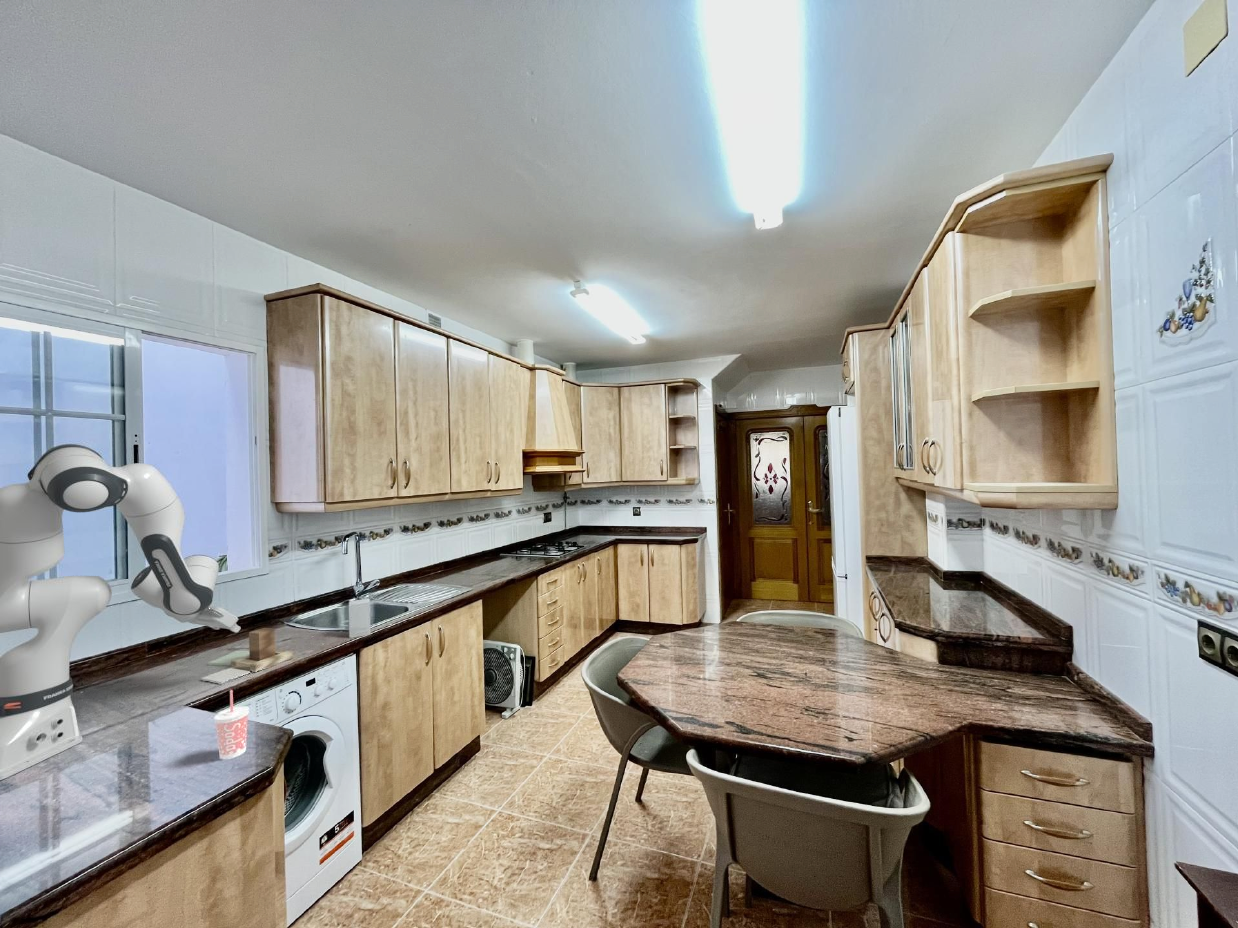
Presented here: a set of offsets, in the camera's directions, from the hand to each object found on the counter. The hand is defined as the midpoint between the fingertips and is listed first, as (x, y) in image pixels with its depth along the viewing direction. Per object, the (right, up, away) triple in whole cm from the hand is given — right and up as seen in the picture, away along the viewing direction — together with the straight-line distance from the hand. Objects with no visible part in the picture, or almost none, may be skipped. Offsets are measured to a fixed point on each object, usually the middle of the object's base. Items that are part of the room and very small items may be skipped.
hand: (228, 628), depth 152 cm
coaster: (-9, -15, +15) cm, 24 cm away
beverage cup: (+36, -13, -44) cm, 58 cm away
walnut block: (+4, -15, +10) cm, 18 cm away
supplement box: (+22, -15, +37) cm, 45 cm away
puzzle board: (+2, -15, +5) cm, 16 cm away
